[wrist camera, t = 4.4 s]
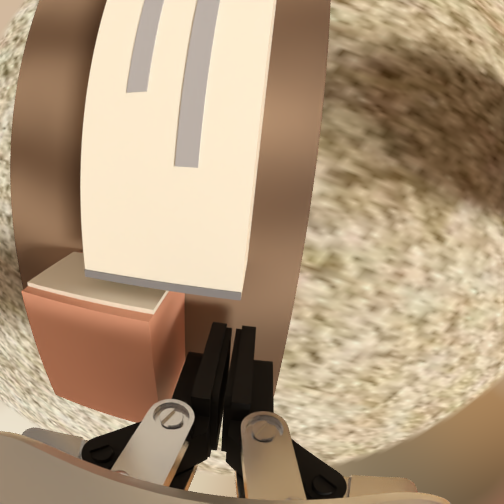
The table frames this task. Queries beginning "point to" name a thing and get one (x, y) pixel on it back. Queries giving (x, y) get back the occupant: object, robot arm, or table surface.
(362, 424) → the table surface
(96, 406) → the block
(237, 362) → the robot arm
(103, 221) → the striped white brick
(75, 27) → the brown rectangular board
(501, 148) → the table surface
